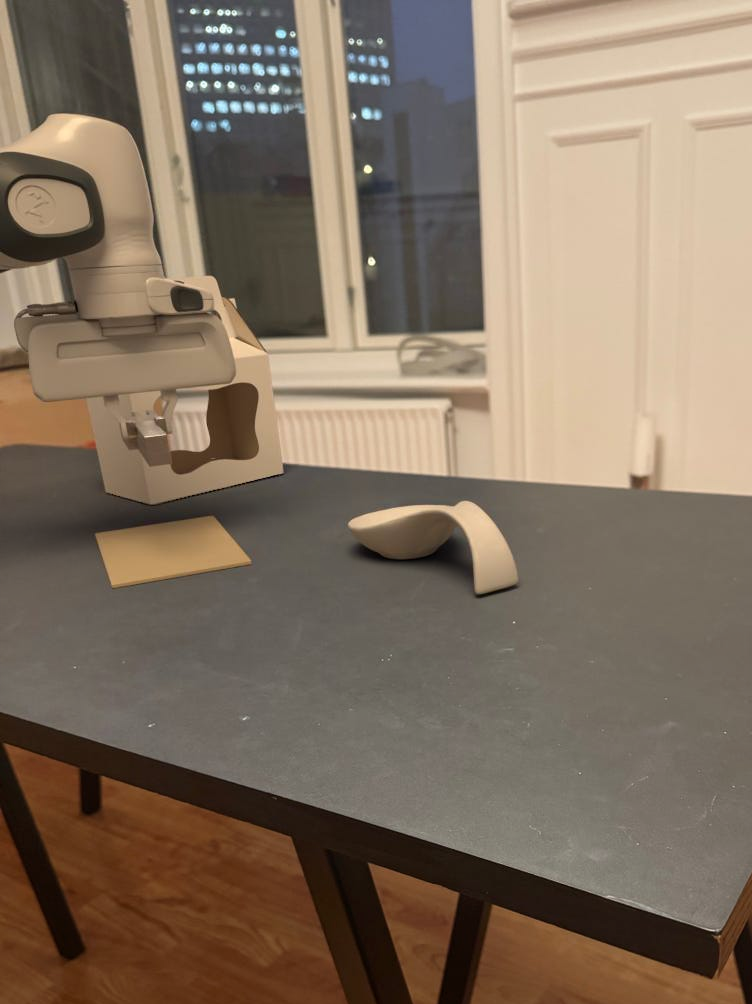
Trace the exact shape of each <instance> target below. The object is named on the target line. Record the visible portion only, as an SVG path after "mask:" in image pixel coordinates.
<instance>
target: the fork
mask: <svg viewBox="0 0 752 1004" xmlns="http://www.w3.org/2000/svg"><path fill="white" fill-rule="evenodd" d="M146 413H147V415H144V416H142V415H141V414H140V412H139V411H136V412H132V417H127V416H126V415H125V414H124V413H120V414H121V415H122V417H123V418H124V419H125V420H131V419H133V420H134V421H135V424H136V429H135V430H136V432H137V438H131V439H123V437H122V440H123V441H124V443H125V445H126V446H127V448H128V449H129V450H137V449H138V450H139V452H140V453H141V455H142V456H143V458H144V459H145V461H146V462H147V463H148V465H149V466H150V467H153V466H160V465H168V464H172V460H171V455H170V451H171V450H170V444H169V438H168V434H166V433H165V432H164V431H163V430H162V429H161V428H160V427H159V426H158V424H157V423H156V422H155V421H154V417H157V416H159V415H158V414H157V412H155V410H154V409H153V410H147V411H146ZM119 426H120V424H119ZM120 431H121V429H120ZM121 436H122V434H121Z"/></svg>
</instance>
